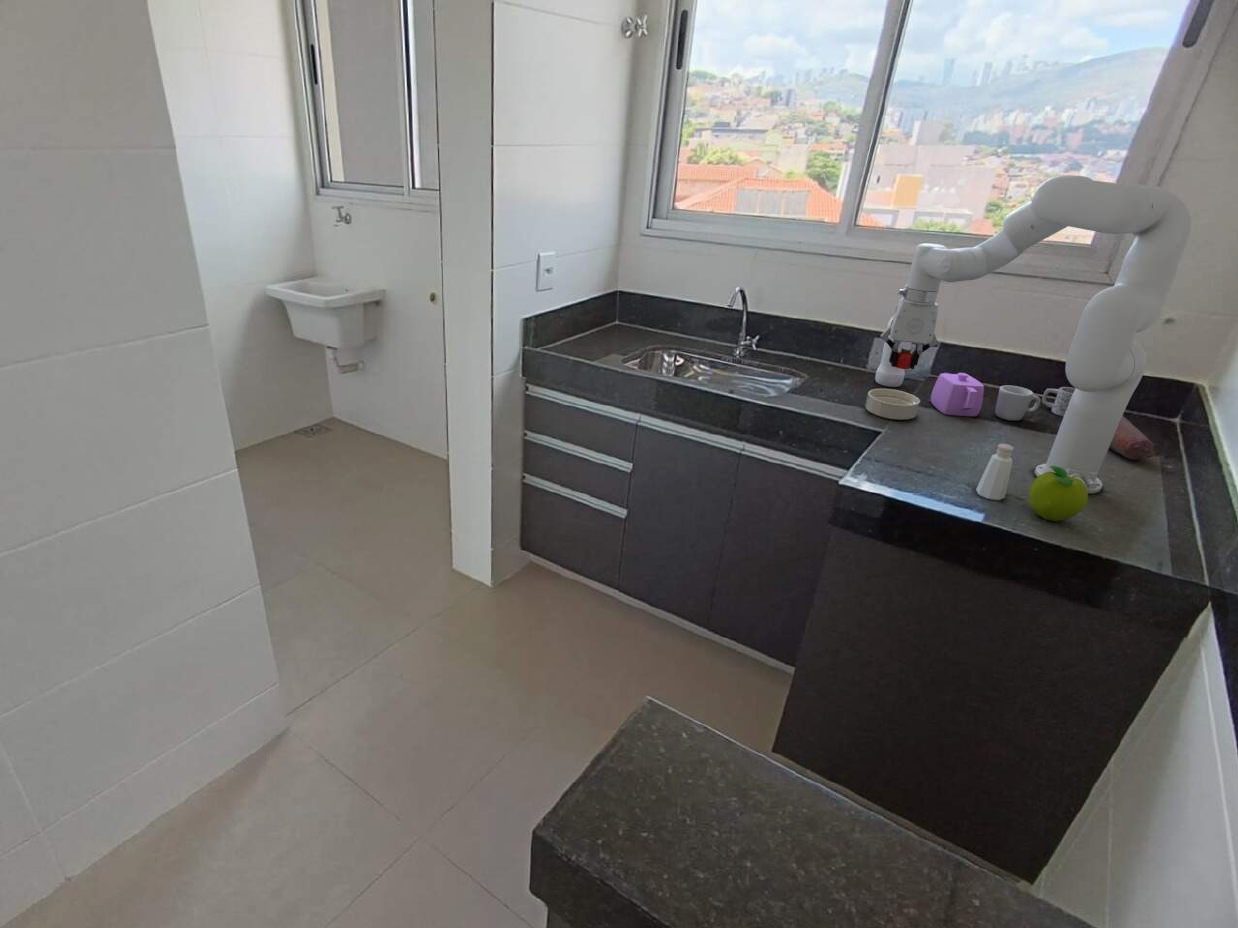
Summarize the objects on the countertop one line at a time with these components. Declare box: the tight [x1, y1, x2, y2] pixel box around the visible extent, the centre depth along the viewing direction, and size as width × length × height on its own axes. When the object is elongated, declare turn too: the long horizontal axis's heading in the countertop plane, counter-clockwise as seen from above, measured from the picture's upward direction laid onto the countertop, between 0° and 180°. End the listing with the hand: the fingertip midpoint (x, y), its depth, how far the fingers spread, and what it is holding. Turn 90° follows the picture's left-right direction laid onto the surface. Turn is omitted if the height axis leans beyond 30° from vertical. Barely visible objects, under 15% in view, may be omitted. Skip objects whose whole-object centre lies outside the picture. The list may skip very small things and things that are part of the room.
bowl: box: [864, 388, 921, 421], centre depth 176 cm, size 13×13×4 cm
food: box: [1109, 415, 1156, 461], centre depth 162 cm, size 21×9×9 cm, turn 1°
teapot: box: [930, 372, 985, 417], centre depth 181 cm, size 18×10×10 cm, turn 178°
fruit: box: [1028, 466, 1089, 522], centre depth 126 cm, size 9×9×10 cm
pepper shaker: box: [975, 443, 1015, 501], centre depth 134 cm, size 5×5×11 cm
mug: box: [1041, 386, 1076, 418], centre depth 184 cm, size 10×7×7 cm, turn 42°
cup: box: [994, 384, 1041, 422], centre depth 177 cm, size 11×8×8 cm
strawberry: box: [895, 347, 913, 370], centre depth 171 cm, size 4×4×5 cm
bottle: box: [874, 283, 913, 388], centre depth 194 cm, size 8×8×30 cm
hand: (902, 365), depth 172 cm, fingers closed on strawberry, 4 cm apart
